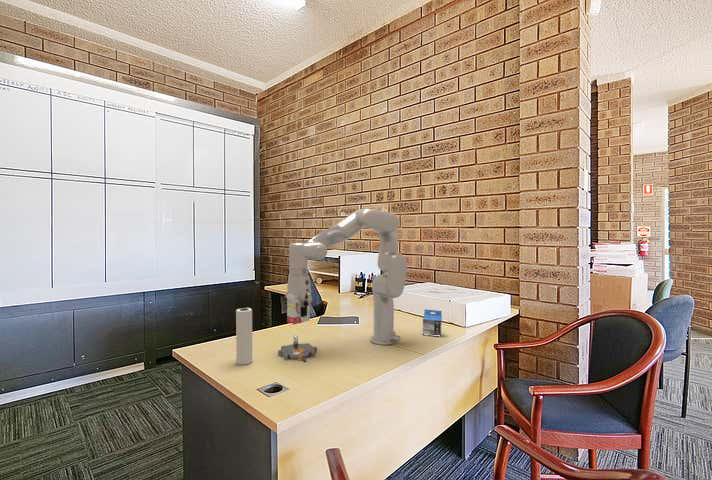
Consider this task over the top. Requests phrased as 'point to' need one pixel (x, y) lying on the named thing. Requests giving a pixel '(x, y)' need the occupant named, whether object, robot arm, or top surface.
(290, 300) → the ink box
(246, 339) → the paper towel roll
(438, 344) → the top surface
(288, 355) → the sprocket
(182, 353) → the top surface
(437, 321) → the label tape cartridge
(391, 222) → the robot arm
